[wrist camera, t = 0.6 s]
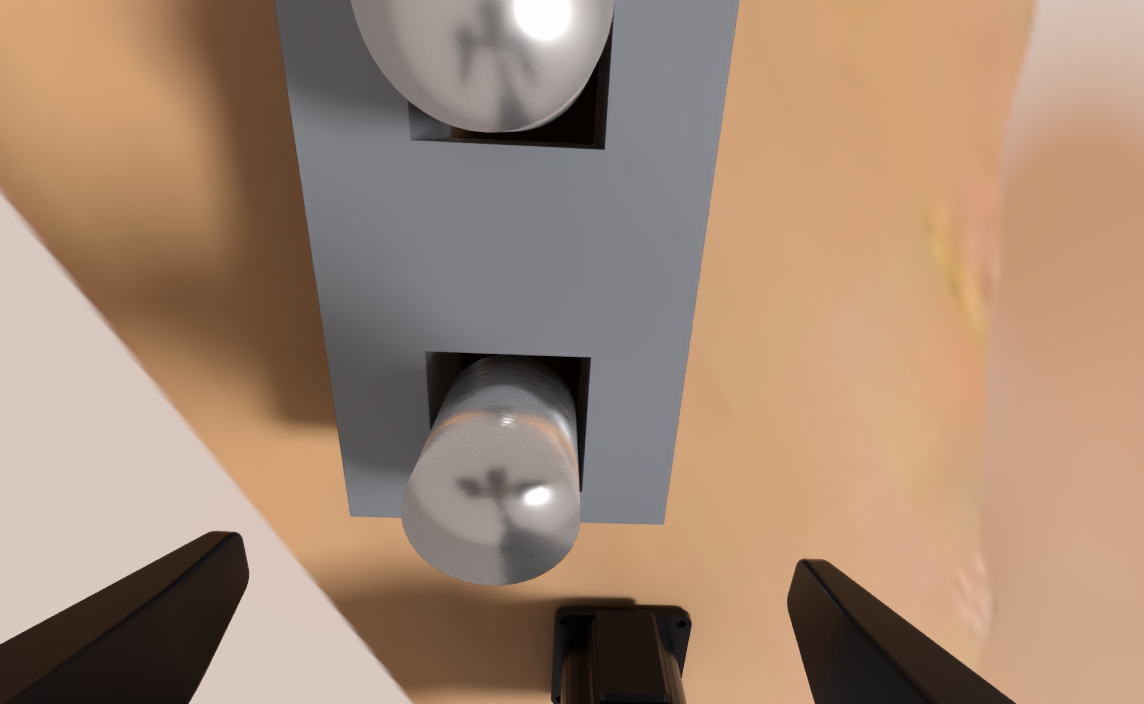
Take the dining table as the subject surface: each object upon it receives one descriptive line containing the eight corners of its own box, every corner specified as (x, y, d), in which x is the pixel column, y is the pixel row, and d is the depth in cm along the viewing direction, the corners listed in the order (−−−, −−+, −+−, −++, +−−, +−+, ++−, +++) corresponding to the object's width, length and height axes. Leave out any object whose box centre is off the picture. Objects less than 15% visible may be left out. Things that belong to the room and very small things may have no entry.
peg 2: (572, 470, 17) (575, 587, 13) (448, 466, 17) (407, 583, 12) (579, 356, 15) (585, 446, 11) (441, 351, 15) (393, 439, 11)
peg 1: (591, 135, 13) (606, 138, 9) (429, 127, 13) (362, 126, 9) (603, -63, 11) (627, -179, 7) (418, -74, 11) (329, -199, 7)
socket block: (642, 440, 22) (663, 524, 17) (396, 432, 21) (350, 516, 17) (701, -70, 15) (762, -159, 10) (345, -92, 15) (245, -193, 10)
